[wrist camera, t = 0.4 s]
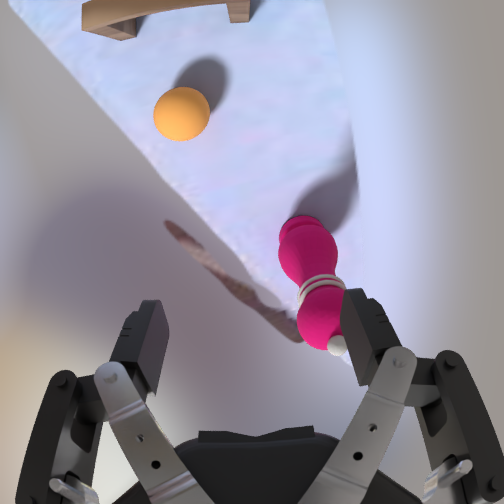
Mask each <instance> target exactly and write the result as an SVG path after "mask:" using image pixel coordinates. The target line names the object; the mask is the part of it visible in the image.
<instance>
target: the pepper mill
mask: <svg viewBox="0 0 504 504" xmlns="http://www.w3.org/2000/svg"><path fill="white" fill-rule="evenodd" d="M279 242H280V246H279V251H278V256H279V261H280V264H281V267H282V269H283V271H284V272H285V273H286V275H287V276H288V277H289V278H290V279H291V280H292V281H294V282H295V283H296V284H297V285H298V286H299V288H300V289H299V292H298V295H297V300H298V303H299V311H298V314H297V325H298V329H299V332H300V334H301V336H302V338H303V339H304V340H305V341H306V342H307V343H308V344H309V345H310V346H312V347H314V348H316V349H321V350H328V351H329V352H330V353H331V354H332V355H335V356H340V355H343V354H344V353H345V352H346V351H347V346H346V342H345V339H344V337H343V334H342V331H341V327H340V312H341V306H342V300H343V294H344V291H345V290H346V287H345V284H344V282H343V281H342V280H341V279H340V278H338V277H336V275H335V268H336V264H337V258H338V250H337V246H336V243H335V240H334V238H333V237H332V235H331V234H330V233H329V232H328V231H327V230H326V229H324V227H323V225H322V224H321V223H320V222H319V221H318V220H317V219H315V218H313V217H311V216H297V217H294V218H292V219H290V220H289V221H287V222H286V223H285V224H284V226H283V227H282V229H281V231H280V234H279Z"/></svg>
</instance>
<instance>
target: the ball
mask: <svg viewBox="0 0 504 504" xmlns="http://www.w3.org/2000/svg"><path fill="white" fill-rule="evenodd" d="M153 117H154V123H155V125H156V128H157V129H158V131H159V132H160V133H161V134H162V135H163V136H165V137H166V138H168V139H171V140H174V141H186V140H190V139H192V138H194V137H196V136H198V135H199V134H200V133H201V132H202V131H203V130H204V129H205V127H206V126H207V123H208V121H209V117H210V108H209V104H208V102H207V100H206V98H205V97H204V96H203V95H202V94H201V93H200V92H199V91H197V90H195V89H193V88H189V87H178V88H174V89H171V90H169V91H167V92H166V93H164V94H163V95H162V96H161V97H160V98H159V100H158V101H157V103H156V105H155V108H154V114H153Z"/></svg>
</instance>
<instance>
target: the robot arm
mask: <svg viewBox="0 0 504 504" xmlns="http://www.w3.org/2000/svg"><path fill="white" fill-rule="evenodd" d="M340 327H341V331H342V334H343V337H344V339H345V342H346V346H347V349H348V352H349V355H350V358H351V361H352V364H353V367H354V370H355V373H356V376H357V380H358V383H359V386H364V385H368V387H369V389H368V391H367V392H366V394H365V396H364V398H363V400H362V402H361V404H360V406H359V408H358V409H357V412H356V414H355V415H354V417H353V419H352V421H351V423H350V424H349V426H348V428H347V430H346V432H345V433H344V435H343V437H342V438H341V440H338V439H337V438H335V437H332V436H330V435H326V434H322V433H316V432H314V428H313V426H304V427H295V428H285V429H282V430H279V431H275V432H272V433H268V434H265V435H261V436H258V437H254V436H248V435H243V434H238V433H233V432H228V431H199V435H198V438H195V439H192V440H189V441H186V442H183V443H182V444H180V445H178V446H176V447H175V448H174V447H173V445H172V444H171V442H170V441H169V439H168V438H167V437H166V435H165V434H164V432H163V431H162V429H161V428H160V426H159V424H158V423H157V421H156V420H155V418H154V416H153V415H152V413H151V412H150V410H149V408H148V407H147V405H146V404H145V402H146V397H147V396H156V392H157V387H158V382H159V378H160V374H161V369H162V364H163V360H164V356H165V352H166V348H167V343H168V339H169V326H168V322H167V319H166V316H165V313H164V309H163V306H162V303H161V301H160V300H143V301H142V303H141V306H140V308H139V311H134V312H132V313H131V314H130V315H129V317H127V318H126V320H125V322H124V325H123V327H122V330H121V332H120V336H119V337H118V340H117V342H116V345H115V347H114V350H113V352H112V355H111V358H110V360H109V362H107V363H104V364H102V365H101V366H100V367H99V368H98V369H97V370H96V372H95V374H93V375H89V376H83V377H78V378H77V377H76V376H75V374H74V373H73V372H72V371H70V370H62V371H59V372H57V373H56V374H55V375H54V376H53V377H52V378H51V380H50V382H49V385H48V387H47V390H46V393H45V395H44V398H43V400H42V403H41V406H40V409H39V412H38V415H37V418H36V421H35V424H34V427H33V430H32V433H31V437H30V440H29V443H28V447H27V450H26V454H25V457H24V462H23V465H22V469H21V474H20V478H19V482H18V487H17V492H16V498H15V503H16V504H99V499H98V495H97V493H96V492H95V491H94V489H92V488H91V487H92V480H93V474H94V468H95V462H96V456H97V451H98V446H99V440H100V435H101V430H102V425H103V422H106V421H109V424H110V426H111V429H112V431H113V433H114V435H115V437H116V439H117V441H118V443H119V445H120V447H121V449H122V451H123V453H124V454H125V456H126V458H127V460H128V462H129V463H130V465H131V467H132V469H133V471H134V472H135V474H136V476H137V477H138V479H139V481H138V482H137V483H135V484H134V485H133V486H132V487H131V488H130V489H129V490H128V491H126V493H124V494H123V495H122V496H121V497H119V498H118V499H117V500H116V501H115V502H114V503H112V504H493V503H495V502H497V501H499V500H500V499H502V498H503V497H504V456H503V453H502V450H501V447H500V444H499V441H498V438H497V435H496V433H495V430H494V427H493V425H492V422H491V420H490V417H489V415H488V412H487V410H486V408H485V405H484V403H483V400H482V398H481V396H480V394H479V391H478V389H477V387H476V385H475V383H474V380H473V378H472V377H471V374H470V372H469V370H468V368H467V366H466V364H465V362H464V360H463V358H462V357H461V356H460V355H459V354H458V353H456V352H454V351H450V350H445V351H442V352H440V353H439V354H438V355H437V357H436V358H435V359H429V358H418V357H416V356H415V354H414V353H413V352H412V351H411V350H409V349H408V348H405V347H402V345H401V343H400V341H399V339H398V337H397V335H396V333H395V331H394V329H393V327H392V325H391V323H390V322H389V319H388V317H387V315H386V313H385V311H384V309H383V307H382V305H381V304H379V303H378V302H377V301H376V300H375V299H373V298H370V299H367V297H366V295H365V293H364V291H363V289H362V288H355V289H346V290H345V291H344V294H343V300H342V306H341V312H340ZM405 406H412V407H414V408H415V411H416V414H417V418H418V421H419V424H420V428H421V431H422V435H423V438H424V442H425V445H426V449H427V453H428V457H429V461H430V465H431V469H432V472H431V473H430V474H429V475H428V476H427V478H426V480H425V485H424V486H425V493H424V496H423V499H422V500H420V499H419V498H418V497H417V496H415V495H414V494H412V493H411V492H409V491H408V490H407V489H405V488H404V487H402V486H401V485H399V484H398V483H396V482H395V481H393V480H392V479H391V478H389V477H388V476H386V475H385V474H384V473H383V472H381V471H380V470H378V467H379V465H380V462H381V461H382V459H383V457H384V455H385V452H386V450H387V448H388V446H389V444H390V441H391V439H392V437H393V435H394V432H395V430H396V428H397V425H398V423H399V420H400V418H401V415H402V413H403V410H404V407H405Z"/></svg>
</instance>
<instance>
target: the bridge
mask: <svg viewBox="0 0 504 504" xmlns="http://www.w3.org/2000/svg"><path fill="white" fill-rule="evenodd" d="M224 3H226V4H227V8H228V13H229V18H230V22H231V23H243V22H249V12H250V0H91V1H88V2H86V3H83V4H82V31H86V32H91V33H94V34H98V35H102V36H106V37H109V38H113V39H116V40H120V41H122V40H126V39H130V38H134V37H136V17H140V16H144V15H149V14H153V13H158V12H163V11H169V10H174V9H181V8H187V7H195V6H203V5H212V4H224Z"/></svg>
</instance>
